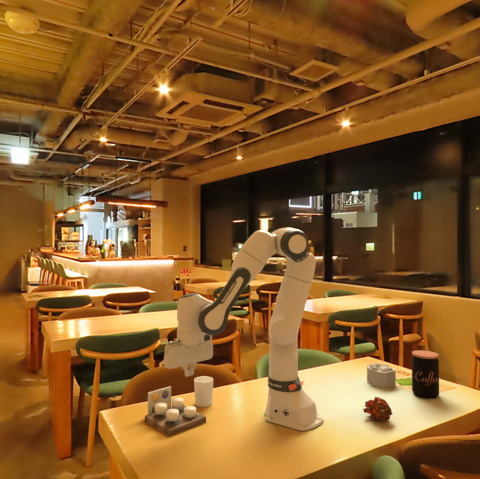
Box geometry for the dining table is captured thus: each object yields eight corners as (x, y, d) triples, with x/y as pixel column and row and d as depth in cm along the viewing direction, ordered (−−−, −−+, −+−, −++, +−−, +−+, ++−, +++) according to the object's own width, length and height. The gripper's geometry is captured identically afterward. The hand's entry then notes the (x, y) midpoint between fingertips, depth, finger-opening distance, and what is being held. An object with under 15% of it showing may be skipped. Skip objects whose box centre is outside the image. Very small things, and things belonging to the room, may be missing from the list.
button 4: (169, 412, 145) (169, 405, 145) (158, 415, 142) (158, 408, 142) (162, 408, 148) (162, 401, 148) (152, 411, 145) (152, 405, 145)
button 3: (186, 406, 150) (186, 399, 150) (176, 409, 147) (176, 402, 147) (179, 403, 153) (179, 396, 153) (169, 406, 150) (169, 399, 150)
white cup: (210, 408, 157) (210, 383, 157) (191, 406, 158) (191, 381, 159) (215, 401, 164) (215, 376, 165) (197, 399, 166) (197, 375, 166)
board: (206, 422, 144) (206, 416, 144) (169, 436, 133) (169, 429, 133) (180, 409, 156) (180, 403, 156) (144, 421, 145) (144, 415, 145)
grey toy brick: (382, 389, 178) (382, 370, 179) (361, 381, 190) (361, 362, 190) (398, 385, 183) (398, 366, 184) (376, 377, 195) (376, 360, 195)
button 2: (181, 418, 139) (181, 411, 139) (170, 422, 136) (170, 415, 136) (174, 414, 142) (174, 407, 142) (163, 418, 139) (163, 411, 139)
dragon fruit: (389, 431, 141) (366, 422, 152) (402, 413, 144) (379, 406, 155) (376, 413, 140) (354, 406, 151) (389, 395, 143) (367, 389, 154)
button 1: (198, 415, 144) (198, 408, 145) (188, 418, 141) (188, 411, 142) (191, 411, 148) (191, 405, 148) (181, 415, 145) (181, 408, 145)
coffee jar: (412, 397, 169) (412, 355, 169) (411, 389, 178) (411, 349, 179) (440, 401, 165) (440, 357, 165) (438, 392, 174) (437, 351, 175)
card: (171, 409, 155) (171, 386, 155) (149, 417, 148) (149, 393, 148) (170, 409, 156) (170, 386, 156) (147, 416, 149) (147, 392, 149)
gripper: (170, 344, 136) (170, 384, 135) (215, 334, 150) (215, 371, 150) (160, 340, 140) (160, 380, 140) (205, 332, 154) (205, 367, 154)
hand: (189, 375), depth 145 cm, fingers closed
